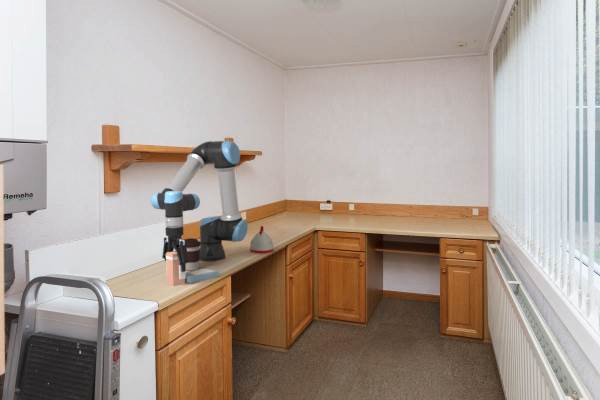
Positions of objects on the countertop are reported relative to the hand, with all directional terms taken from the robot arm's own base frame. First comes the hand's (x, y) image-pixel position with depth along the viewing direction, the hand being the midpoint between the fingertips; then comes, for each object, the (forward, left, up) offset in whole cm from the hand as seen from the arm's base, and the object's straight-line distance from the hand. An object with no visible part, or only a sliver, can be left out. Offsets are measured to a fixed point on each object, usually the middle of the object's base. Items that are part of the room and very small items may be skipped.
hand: (175, 276), depth 197 cm
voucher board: (-12, 0, -3) cm, 12 cm away
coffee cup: (-20, -17, -3) cm, 26 cm away
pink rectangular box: (0, 0, -3) cm, 3 cm away
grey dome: (-74, -22, -3) cm, 77 cm away
